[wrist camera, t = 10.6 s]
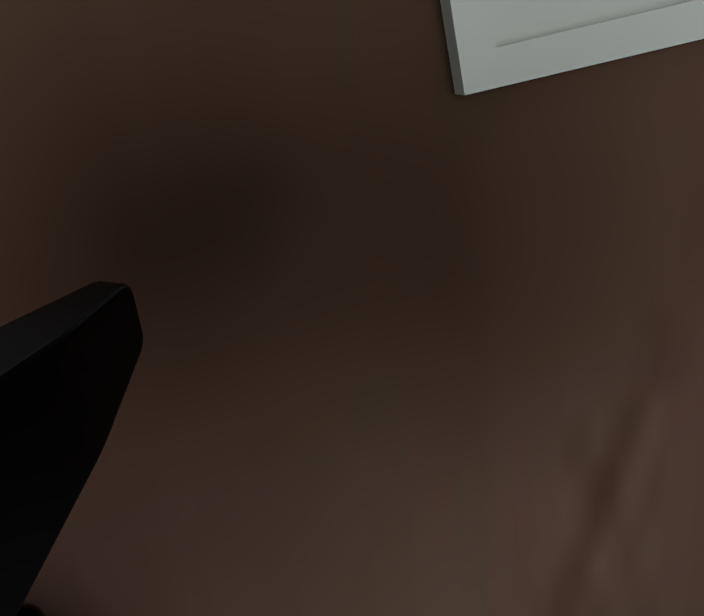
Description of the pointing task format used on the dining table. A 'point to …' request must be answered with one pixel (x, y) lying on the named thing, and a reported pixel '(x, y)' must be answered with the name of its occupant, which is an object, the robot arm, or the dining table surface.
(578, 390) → the dining table surface
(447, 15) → the tray
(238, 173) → the dining table surface
